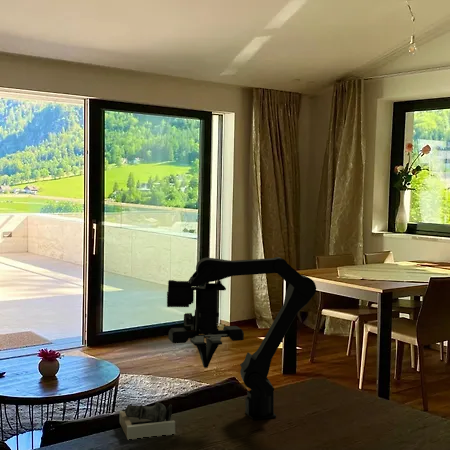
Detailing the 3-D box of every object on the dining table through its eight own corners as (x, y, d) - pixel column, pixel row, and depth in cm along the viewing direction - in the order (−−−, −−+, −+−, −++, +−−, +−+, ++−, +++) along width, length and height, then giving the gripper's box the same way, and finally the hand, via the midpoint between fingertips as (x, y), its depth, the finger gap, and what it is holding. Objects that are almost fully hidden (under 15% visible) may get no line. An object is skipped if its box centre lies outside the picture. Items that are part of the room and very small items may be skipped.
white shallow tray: (163, 417, 170) (163, 406, 170) (175, 434, 158) (175, 422, 158) (119, 422, 166) (119, 410, 166) (127, 440, 155) (127, 427, 154)
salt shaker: (172, 413, 160) (123, 408, 158) (167, 432, 163) (119, 427, 160) (171, 398, 166) (123, 392, 163) (166, 416, 168) (119, 411, 165)
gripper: (232, 301, 179) (230, 358, 180) (164, 303, 174) (163, 361, 174) (245, 308, 168) (243, 368, 169) (173, 310, 163) (172, 372, 164)
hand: (205, 367), depth 169 cm, fingers closed
